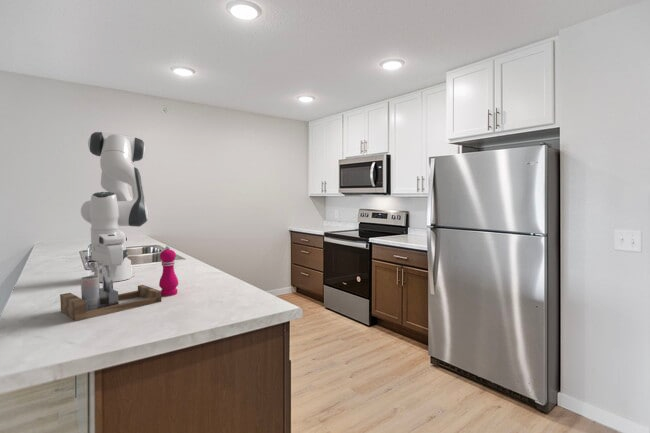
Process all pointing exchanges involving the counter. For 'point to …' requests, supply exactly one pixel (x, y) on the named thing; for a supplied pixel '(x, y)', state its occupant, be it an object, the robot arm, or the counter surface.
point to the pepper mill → (168, 273)
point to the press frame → (77, 309)
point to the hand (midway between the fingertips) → (107, 275)
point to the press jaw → (107, 289)
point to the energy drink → (90, 292)
